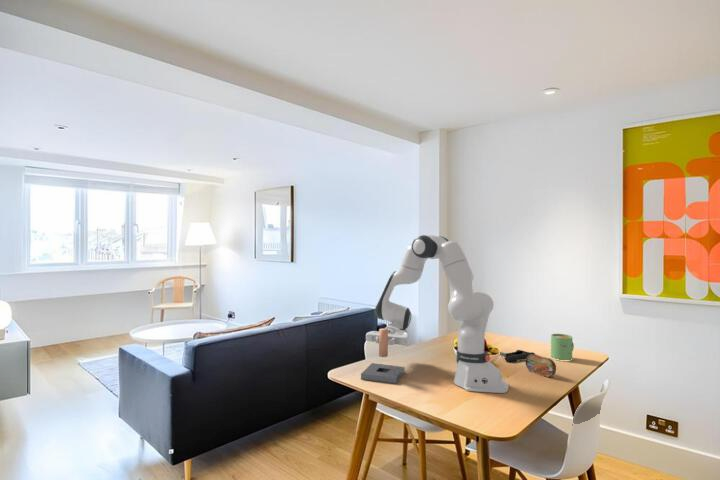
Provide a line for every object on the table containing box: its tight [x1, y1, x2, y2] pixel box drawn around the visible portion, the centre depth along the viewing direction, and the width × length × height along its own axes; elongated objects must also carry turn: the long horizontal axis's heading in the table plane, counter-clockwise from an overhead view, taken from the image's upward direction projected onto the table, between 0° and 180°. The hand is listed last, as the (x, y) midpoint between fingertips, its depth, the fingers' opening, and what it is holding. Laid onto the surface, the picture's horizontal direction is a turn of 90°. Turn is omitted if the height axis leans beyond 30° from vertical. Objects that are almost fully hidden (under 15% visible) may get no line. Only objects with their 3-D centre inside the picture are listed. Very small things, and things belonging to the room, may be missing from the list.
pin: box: [378, 327, 389, 358], centre depth 180 cm, size 4×4×12 cm
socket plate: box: [360, 362, 406, 385], centre depth 180 cm, size 16×16×2 cm
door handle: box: [499, 349, 536, 363], centre depth 211 cm, size 3×20×16 cm
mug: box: [550, 333, 575, 360], centre depth 209 cm, size 13×10×12 cm
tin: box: [524, 353, 557, 378], centre depth 185 cm, size 15×3×8 cm, turn 27°
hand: (383, 342), depth 179 cm, fingers closed on pin, 4 cm apart
